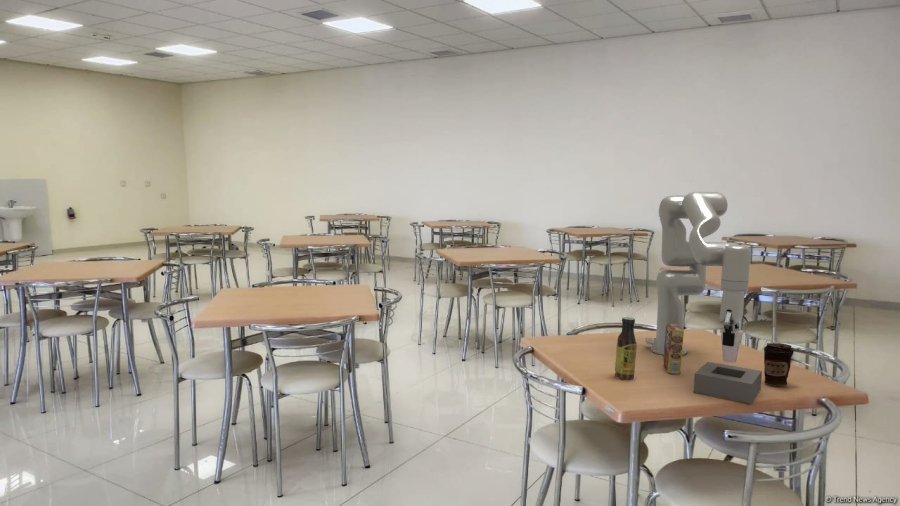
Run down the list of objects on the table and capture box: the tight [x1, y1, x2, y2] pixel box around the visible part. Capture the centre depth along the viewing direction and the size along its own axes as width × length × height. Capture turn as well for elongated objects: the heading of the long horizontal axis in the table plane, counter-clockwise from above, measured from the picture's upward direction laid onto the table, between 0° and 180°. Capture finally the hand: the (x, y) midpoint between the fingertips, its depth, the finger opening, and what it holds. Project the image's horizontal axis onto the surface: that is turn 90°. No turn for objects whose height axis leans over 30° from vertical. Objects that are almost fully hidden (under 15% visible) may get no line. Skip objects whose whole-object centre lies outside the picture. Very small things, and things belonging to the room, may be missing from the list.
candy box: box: [662, 324, 685, 375], centre depth 205 cm, size 9×4×15 cm, turn 172°
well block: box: [693, 361, 763, 405], centre depth 185 cm, size 16×16×6 cm
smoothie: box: [719, 327, 744, 364], centre depth 183 cm, size 6×6×14 cm
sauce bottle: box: [614, 316, 638, 380], centre depth 196 cm, size 6×6×20 cm
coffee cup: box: [763, 342, 794, 388], centre depth 191 cm, size 9×8×13 cm
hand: (730, 342), depth 183 cm, fingers closed on smoothie, 6 cm apart
